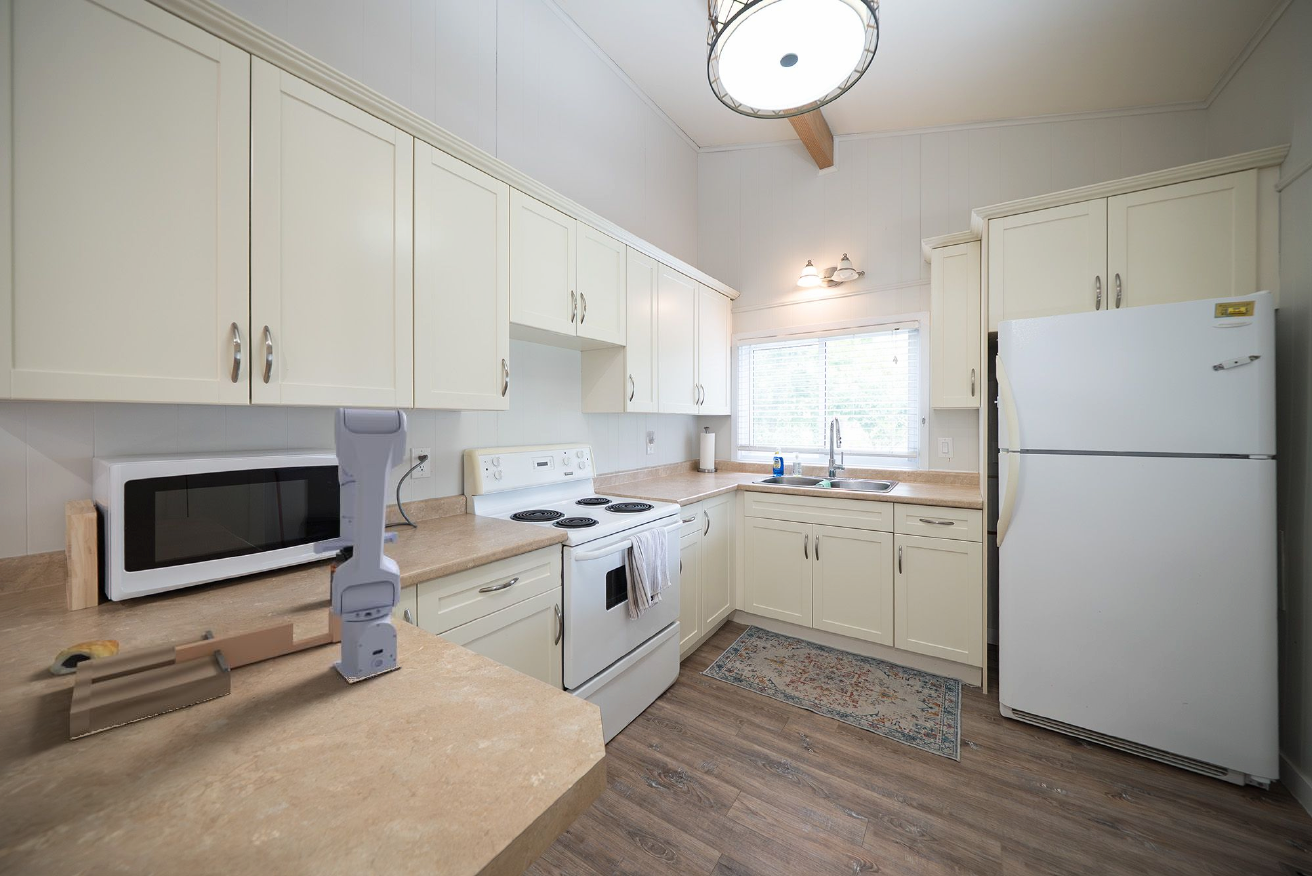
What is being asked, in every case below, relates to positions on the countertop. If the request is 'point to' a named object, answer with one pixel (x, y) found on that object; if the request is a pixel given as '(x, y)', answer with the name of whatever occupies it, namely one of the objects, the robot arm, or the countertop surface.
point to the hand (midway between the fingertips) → (357, 583)
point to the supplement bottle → (334, 565)
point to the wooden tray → (143, 685)
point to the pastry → (83, 655)
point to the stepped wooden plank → (257, 643)
